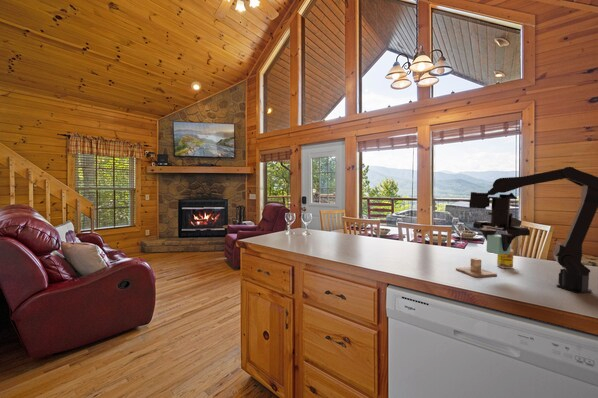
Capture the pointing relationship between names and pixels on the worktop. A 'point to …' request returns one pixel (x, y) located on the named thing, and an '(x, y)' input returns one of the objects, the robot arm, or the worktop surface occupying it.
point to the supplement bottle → (505, 259)
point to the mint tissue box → (496, 245)
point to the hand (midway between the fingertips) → (497, 249)
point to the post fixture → (476, 269)
